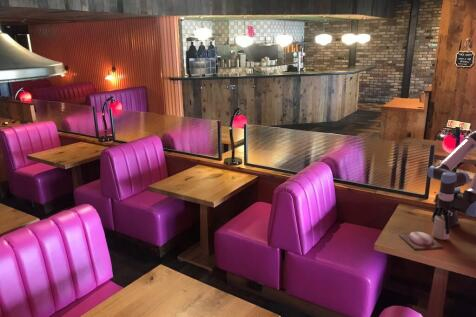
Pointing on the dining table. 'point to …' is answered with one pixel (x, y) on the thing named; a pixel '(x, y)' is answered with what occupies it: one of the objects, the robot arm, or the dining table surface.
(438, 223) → the can
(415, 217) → the dining table surface
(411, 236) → the stand
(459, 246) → the dining table surface
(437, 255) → the dining table surface
